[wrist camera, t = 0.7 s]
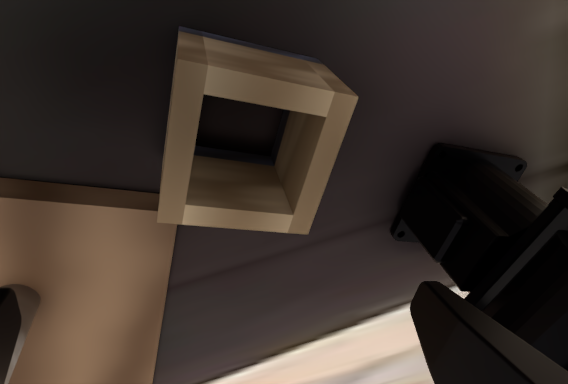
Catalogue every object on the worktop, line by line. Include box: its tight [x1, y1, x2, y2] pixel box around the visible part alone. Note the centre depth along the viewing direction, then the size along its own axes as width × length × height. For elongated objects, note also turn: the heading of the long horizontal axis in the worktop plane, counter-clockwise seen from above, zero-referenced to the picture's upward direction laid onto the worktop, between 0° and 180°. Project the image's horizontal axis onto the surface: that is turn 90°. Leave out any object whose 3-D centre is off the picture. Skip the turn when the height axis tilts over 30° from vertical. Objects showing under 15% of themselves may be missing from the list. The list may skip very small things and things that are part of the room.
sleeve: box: [157, 26, 359, 235], centre depth 16 cm, size 6×6×5 cm
